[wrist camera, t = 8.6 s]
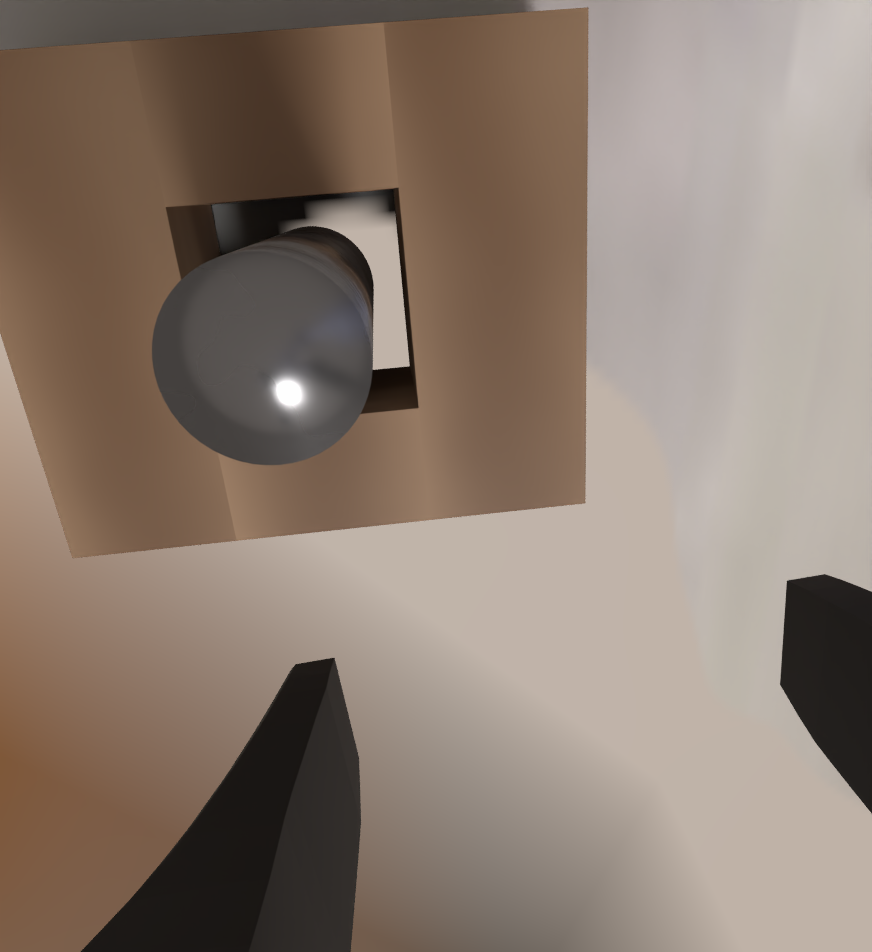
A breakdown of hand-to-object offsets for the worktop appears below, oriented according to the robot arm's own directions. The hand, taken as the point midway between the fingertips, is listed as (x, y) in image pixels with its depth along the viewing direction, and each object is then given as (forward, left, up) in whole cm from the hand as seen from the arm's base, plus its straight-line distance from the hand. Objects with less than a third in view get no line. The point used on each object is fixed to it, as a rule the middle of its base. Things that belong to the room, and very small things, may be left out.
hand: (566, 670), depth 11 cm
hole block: (+4, -5, -10) cm, 12 cm away
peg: (+4, -5, -10) cm, 12 cm away
